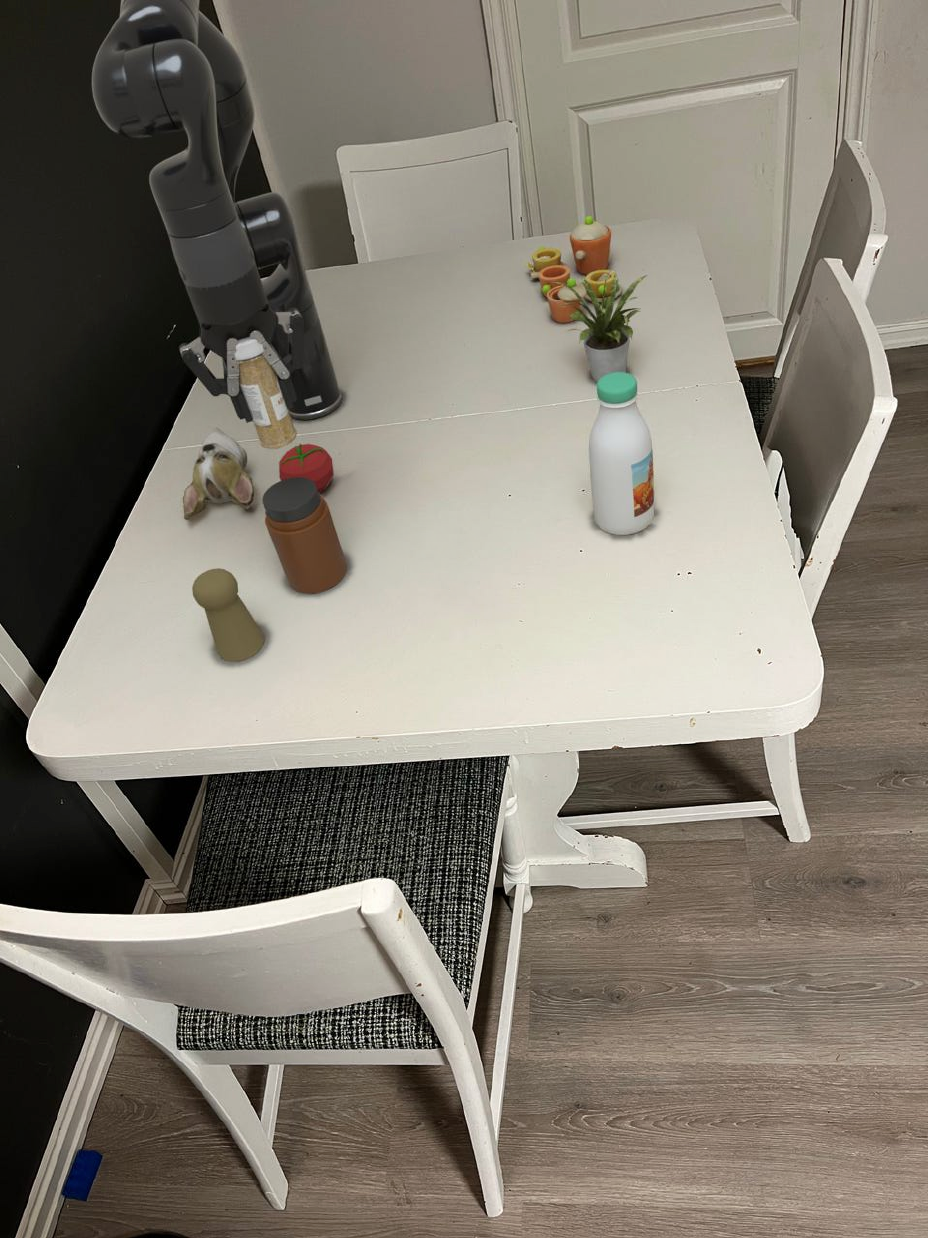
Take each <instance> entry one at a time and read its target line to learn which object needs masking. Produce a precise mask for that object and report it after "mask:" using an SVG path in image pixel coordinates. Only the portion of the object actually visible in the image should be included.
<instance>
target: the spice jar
mask: <svg viewBox="0 0 928 1238" xmlns="http://www.w3.org/2000/svg"><path fill="white" fill-rule="evenodd" d="M237 341H238V345H237V346H236V350H237V351H236V353H234V355H235V358H236V360H239V387H240V390H241V391H242V394H243V396H244V399H245V402H246V404H247V407H248V410H249V413H250V415H251V418H252V421H251V422H252V423H253V425H254V428H255V430H256V434H257V436H258V443H259V444H260V447H262V448H265V449H269V450H276V449H277V450H278V449H281V448H284V447H286V446H288V445H290V444H291V443H293V442H294V440H296V438H297V434H298V433H297V429H296V428H295V426H294V423H293V420H292V417H291V416H290V414H289V411H288V408H287V405H286V402H285V399H284V396H283V393H282V390H281V387H280V384H279V381H278V377H277V374H276V372H275V370H274V369H273V368H272V366H271V365H270V364H269V363H268V361H267V360H266V359H265V357H264V354H262V353H263V352H264V349H265V348H264V349H263V346H262V344H259V343H258V342H257V340H255V339H254V340H251V338H250V337H246V338H243V339H240V340H237ZM232 359H234V358H232Z"/></svg>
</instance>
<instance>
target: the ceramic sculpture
mask: <svg viewBox="0 0 928 1238" xmlns="http://www.w3.org/2000/svg"><path fill="white" fill-rule="evenodd" d="M247 453H248V452H247V450H246V449H245V448H243V447H242V446H241V444H239V442H237V441H236V439H234V438H233V437H231V436H230V435H229V434H227V433H226V432H224V431H222V430H221V429H220V428H219V427H216V426H215V427H214V428H213V429H212V431H211V433H210V434H209V435H208V436H207V437H206V438H205V439H204V440H203V443H202V445H201V447H200V448H199V451H198V455H197V458H196V460H195V462H194V465H193V469H192V470H193V471H192V482H191V483H190V484H189V485H188V486H187V487H186V488H185V489H184V491H183V493H184V494H183V496H182V504H183V505H182V507H183V520H187V521H188V520H189V519H192V518H194V517H197V516H198V515H200V514H201V513H202V512H203V511H204V510H205V509H206V506H207V502H206V501H208V502H210V503H212V504H221V503H226V502H230V501H232V502H233V503H234V505H238V506H239V507H242V508H245V509H249V508H250V506H251V505H252V503H253V501H254V499H255V498H254V497H255V485H254V482H253V478H252V477H251V476H250V475H249V474H248V473H246V472H244V470H246V468H247V464H248V454H247Z"/></svg>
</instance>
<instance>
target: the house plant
mask: <svg viewBox="0 0 928 1238" xmlns="http://www.w3.org/2000/svg"><path fill="white" fill-rule="evenodd" d="M609 273H610V272H609ZM608 275H609V274H608ZM608 275H607V277H606V280H605V283H604V290H603V299H602V301H601V302H598V299H597V297H596V295H595V293H594V291H593V290H592V289H591V286H590V284H589V283H588V282H587V281H586V280H585V277H582V276H580V278H577V279H578V280H579V281H580V282H581V283H580V284H583V286H584V287H585V289H586V292H587V294H588V295H589V297H590V299H591V301H590V302H591V303H592V306H593V309H594V312H595V313H594V312H593V311H592V310H591V309H590V307H589V306H588V304H587V303H586V302H585V300H583V298H581V297H580V296H579V294H578V293H577V292H576V291H575V290H574V289H573V288H572V287H571V286H569V285H566V284H563V283H559V282H553V283H558V284H561V285H563V286H565V287H567V288H569V289H570V290H571V291H572V292H573V293H574V294H575V295H576V296H577V298H578V299H579V300H580V303H577V304H579V305H580V307H582V308H583V309H585V311H586V312H587V313H588V314H589V315H590V317H591V318H592V319H591V318H590V317H588V316H587V314H585V313H583V311H581V309H580V310H579V309H578V308H576V307H574V306H571V307H574V308H575V309H577V310H578V311H576V312H573V313H572V314H571V315H570V316H569V318H571V319H574V321H577V322H582V323H583V324H584V325H585V326H587V328H585V329H583V330H580V329H578V328H571V329H569V330H567V331H566V332H571V331H580V333H579V343H578V344H581V342H582V343H583V347H584V351H585V355H586V360H587V362H588V366H589V370H590V371H589V372H590V374H591V379H592V380H593V381H594V382H596V384H597V383H598V381H599V379H600V378H602V377H603V376H605V375H607V374H610V373H614V372H624V373H627V365H628V358H629V350H630V343H631V342H630V341H633V335H634V330H633V327H631V325H629V322H630V318H632V317H633V316H635V314H637V313H639V312H640V307H639V308H637V307H632V308H626V309H623V308H624V306H625V305H626V303H627V302H629V301H631V300H634V299H638V297H636V296H633V297H630V296H631V295H632V294H633V293H634V291H635V290H636V287H637V286H638V284H639V283H641V281H643V280H644V279H645V278H646V277H647V276H648V274H647V275H644V276H641V277H639V278H637V279H636V280H634V281H633V282H632V283H631V284H630V286H629V287H628V288H627V289H626V291H625V292H623V294H622V295H621V297H620V299H619V300H618V303H617V306H616V308H615V310H614V305H615V299H616V298H615V295H616V288H617V287H618V286H617V287H616V280H617V276H615V274H614V277H613V283H612V286H611V292H610V293H611V295H610V294H609V295H610V297H606V298H604V296H605V286H606V281H607V278H608ZM609 295H608V296H609ZM569 303H575V302H569ZM569 303H565V304H569ZM565 304H563V305H565ZM563 305H562V306H563ZM564 307H567V306H564ZM562 308H563V307H562ZM613 311H614V312H613ZM627 312H628V313H627ZM626 313H627V314H626ZM625 314H626V315H625Z"/></svg>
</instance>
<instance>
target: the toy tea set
mask: <svg viewBox="0 0 928 1238" xmlns="http://www.w3.org/2000/svg"><path fill="white" fill-rule="evenodd" d="M611 242H612V231H611V228H610V227H608V226H607V225H605V224H603V223H602V222H599V221H597V220H594V218H593V217H592V216H591V215H588V216H586V217H585V218H584V222H581V223H580V224H578V225H577V226H576V227H575V228H574V229H573V230H572V231H571V233H570V234H569V243H570V247H571V250H572V254H573V259H574V262H575V263H574V264H575V267H576V270H577V272H578V273H579V274H582V275H586V276H585V277H584V279H585V280H586V281H587V282H588V283H589V284H590V286H591V289H592V290H593V291H594V293H595V295H596V297H597V299H598V302H599V303H601V301H602V299H603V290H604V283H605V280H606V277H607V275H608V274H609V275H608V278H607V281H606V286H605V296H604V298H606V297H610V295H611V293H610V292H611V286H612V283H613V277H614V274H615V276H616V287H617V286H618V287H617V288H616V295H615V299H617V298H618V297H619V296H620V295H621V293H622V286H621V285H620V284H619V281H620V280H619V275H618V273H617V272H616V271H615V270H610V269H608V267H609V263H610V254H611V253H610V251H611ZM531 260H532V263H533V265H532V264H531V263H529V262H528V261H526V265H527V268H529V269H530V270H529V272H530V278H531V279H539V284H540V287H541V291H542V294H543V296H544V297H545V298H547V302H548V305H549V309H550V312H551V317H552V319H553V321H554V322H556V323H561V324H564V323H565V324H566V323H571V322H573V321H575V320H574V319H571V318H569V316H570V315H571V314H572V313H573V312H576V311H578V310H577V309H575V308H574V307H576V308H578V309H579V310H580V311H581V305H579V304H577V303H581V301H580V300H579V299H578V298H577V296H576V295H575V294H574V293H573V292H572V291H571V290H570V289H569V288H567V287H565V286H563V285H561V284H558V283H553V282H559V283H563V284H566V285H569V286H571V287H572V288H573V289H574V290H575V291H576V292H577V293H578V294H579V296H580V297H581V298H582V299H583V298H584V299H585V300H587V301H589V302H592V301H591V299H590V297H589V295H588V294H587V292H586V289H585V287H584V286H583V284H582V283H577V280H576V279H575V278H574V277H571V269H570V268H569V266H567V265H566V263H565V262H563V261H562V252H561V250H559V249H558V248H554V247H549V248H548V247H547V248H546V247H544V246H540V247H538V249H537V250H536V251H534V252H533V253H532V255H531ZM609 272H610V273H609ZM609 294H610V295H609ZM608 295H609V296H608ZM569 302H575V303H569ZM565 303H569V304H565ZM563 304H565V305H563ZM562 305H563V306H562ZM564 306H567V307H564ZM571 306H574V307H571ZM562 307H563V308H562Z"/></svg>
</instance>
